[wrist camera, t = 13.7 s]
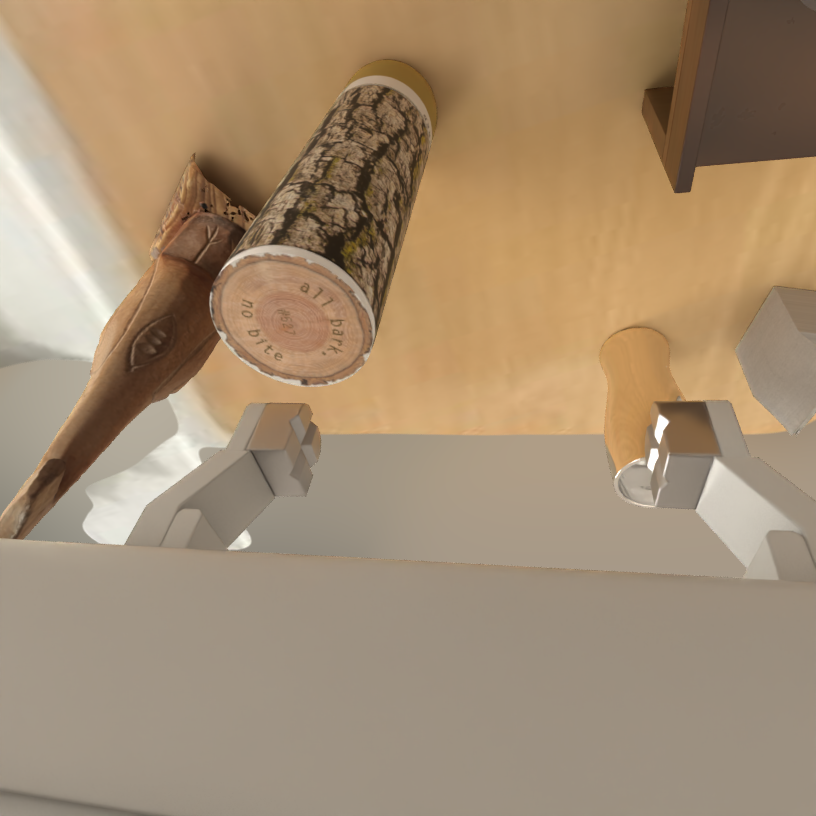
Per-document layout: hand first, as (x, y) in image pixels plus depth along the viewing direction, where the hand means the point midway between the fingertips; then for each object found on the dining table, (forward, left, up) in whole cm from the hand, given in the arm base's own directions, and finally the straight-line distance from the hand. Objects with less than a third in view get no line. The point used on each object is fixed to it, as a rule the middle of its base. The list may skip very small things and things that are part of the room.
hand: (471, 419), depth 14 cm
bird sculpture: (+12, -24, -33) cm, 43 cm away
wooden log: (+3, -8, -33) cm, 34 cm away
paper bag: (+23, +22, -33) cm, 46 cm away
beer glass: (+26, +11, -33) cm, 44 cm away
